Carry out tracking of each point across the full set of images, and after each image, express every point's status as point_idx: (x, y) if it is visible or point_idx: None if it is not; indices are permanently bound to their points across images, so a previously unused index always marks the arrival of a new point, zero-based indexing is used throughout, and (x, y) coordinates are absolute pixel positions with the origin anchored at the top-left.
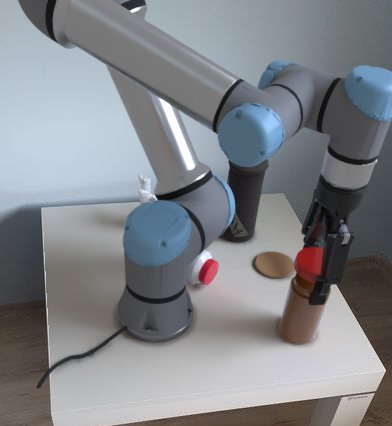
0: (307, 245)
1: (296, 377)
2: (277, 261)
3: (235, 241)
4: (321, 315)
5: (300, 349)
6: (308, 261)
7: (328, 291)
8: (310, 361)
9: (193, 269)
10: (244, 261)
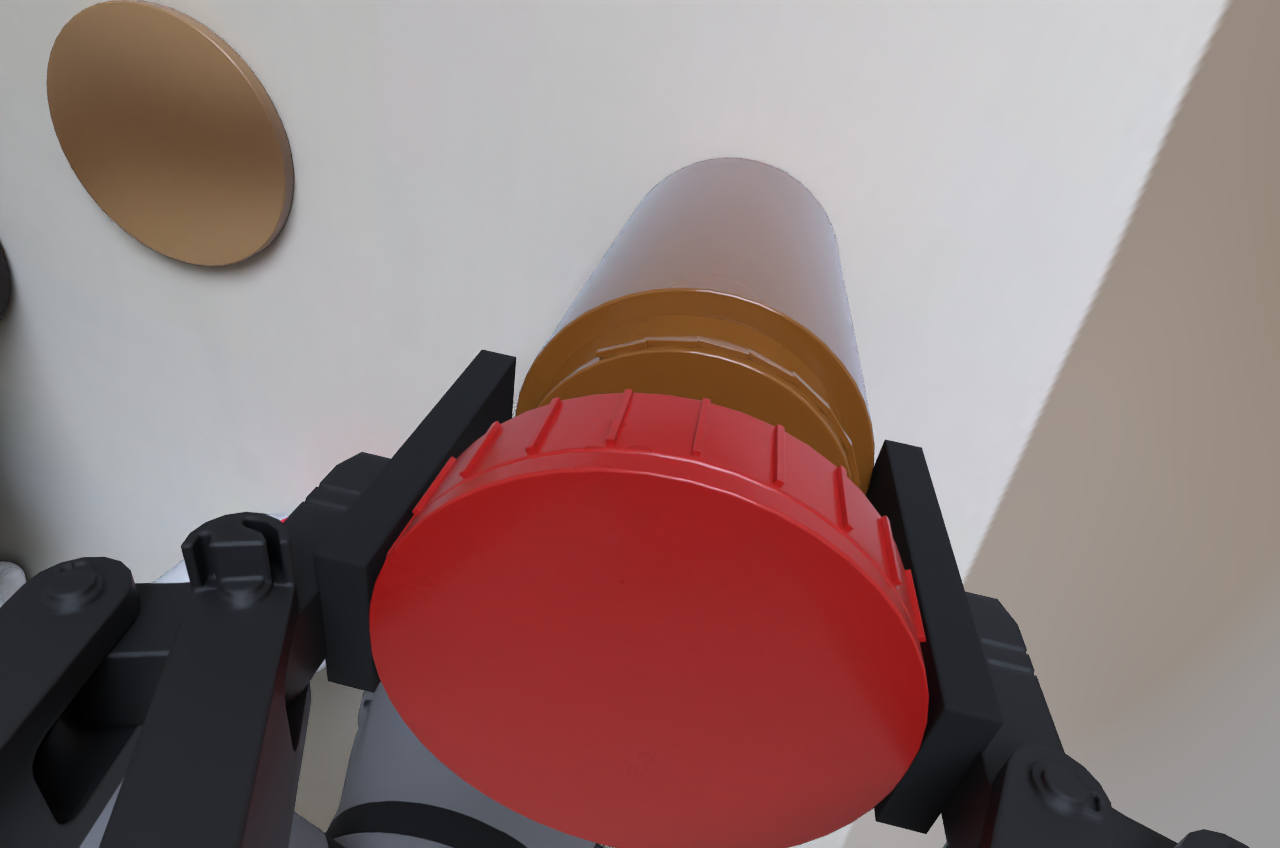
0: (337, 654)
1: (1024, 425)
2: (141, 119)
3: (7, 283)
4: (838, 286)
5: (863, 317)
6: (623, 778)
7: (1024, 651)
8: (967, 308)
9: (319, 669)
10: (164, 298)
